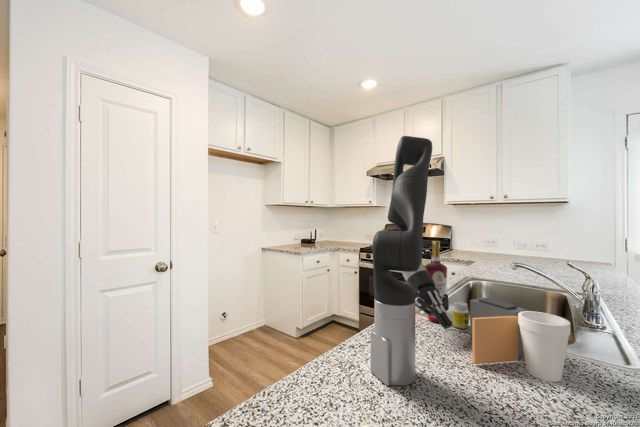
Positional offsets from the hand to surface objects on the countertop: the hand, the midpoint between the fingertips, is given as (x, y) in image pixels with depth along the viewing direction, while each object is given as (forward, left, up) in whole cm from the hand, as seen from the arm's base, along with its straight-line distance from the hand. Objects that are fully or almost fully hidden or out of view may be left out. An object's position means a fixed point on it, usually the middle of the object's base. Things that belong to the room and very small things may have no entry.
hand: (448, 327), depth 78 cm
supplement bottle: (+13, +6, -5) cm, 15 cm away
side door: (+2, -12, -4) cm, 13 cm away
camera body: (+11, -7, -5) cm, 14 cm away
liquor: (+12, +15, -5) cm, 20 cm away
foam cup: (+8, -20, -5) cm, 22 cm away
